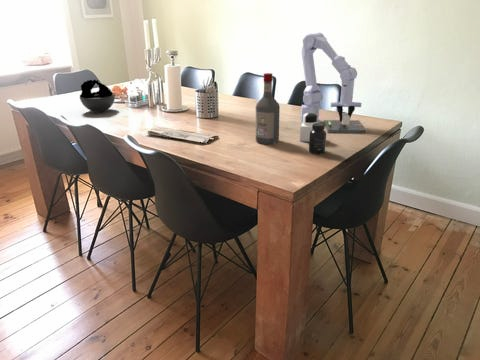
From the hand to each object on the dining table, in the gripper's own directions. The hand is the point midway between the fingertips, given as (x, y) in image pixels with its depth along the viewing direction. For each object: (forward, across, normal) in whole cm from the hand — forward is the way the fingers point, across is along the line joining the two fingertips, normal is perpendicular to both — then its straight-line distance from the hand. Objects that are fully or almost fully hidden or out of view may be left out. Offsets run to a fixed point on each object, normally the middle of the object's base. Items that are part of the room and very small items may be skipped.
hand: (344, 121), depth 195 cm
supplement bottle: (+4, -17, -37) cm, 41 cm away
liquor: (+4, -38, -23) cm, 45 cm away
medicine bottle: (+4, -19, -20) cm, 28 cm away
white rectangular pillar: (+2, 0, 0) cm, 2 cm away
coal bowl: (+4, -140, +32) cm, 144 cm away
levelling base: (+3, 0, 0) cm, 3 cm away
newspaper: (+4, -80, -18) cm, 82 cm away
